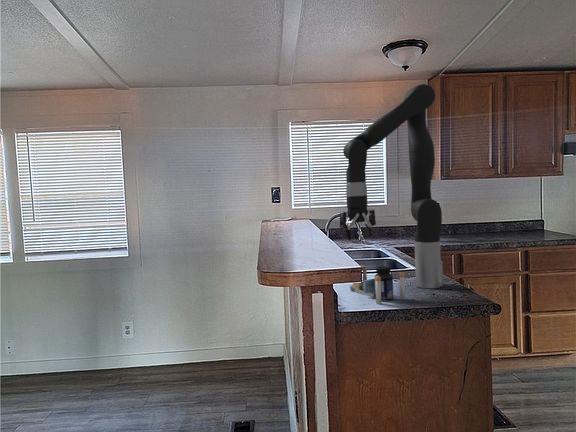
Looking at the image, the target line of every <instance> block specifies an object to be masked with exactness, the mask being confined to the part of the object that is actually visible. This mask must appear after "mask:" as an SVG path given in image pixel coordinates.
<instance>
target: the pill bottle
mask: <svg viewBox="0 0 576 432" xmlns="http://www.w3.org/2000/svg"><path fill="white" fill-rule="evenodd" d="M375 270H376V274H375V275H374V278H375V277H376V276H380V277H381V280H380V283H381V302H390V301H393V300H394V298H395V297H394V296H395V295H394V278H393V275H392V274H391V267H390V266H377V267H376V269H375ZM375 296H376V281H375Z"/></svg>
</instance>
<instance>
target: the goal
mask: <svg viewBox="0 0 576 432" xmlns="http://www.w3.org/2000/svg"><path fill="white" fill-rule="evenodd" d="M405 276H406V274H405V272H404V271H401V272H399V274H398V277H399V294H400V295H399V299H400V300H401V301H404V300H406V285H405V284H406V282H405ZM374 279H375V281H376V297H375V300H376V301H375V303H376V305H382V301H381V283H380V280H381V277H380V276H376V277H375V276H374Z"/></svg>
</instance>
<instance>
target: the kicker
mask: <svg viewBox="0 0 576 432" xmlns="http://www.w3.org/2000/svg"><path fill="white" fill-rule="evenodd" d="M360 266H361V267H362V270H363V282H361V283H353V284H352V285H351V286H352V288H355V289H363V291H364V293H371V292H375V278H372V279H368V276H367V275H368V273H367V272H368V271H367V266H366V265H362V264H360Z"/></svg>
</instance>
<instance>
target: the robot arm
mask: <svg viewBox="0 0 576 432" xmlns="http://www.w3.org/2000/svg"><path fill="white" fill-rule="evenodd" d="M435 99H436V91H435V89H434V88H433V87H432V86H431V85H430V84H428V83H427V84H425V83H422V84H418V85H416V86H413V87H412V88H410V89H409V90H407V92H406V93H405V95H404V98H403V101H402V102H401V103H400V104H398V105H397V106H396V107H394V108H393V109H391V110H390V111H389V112H387V113H385V114H383V116H381V117H380V118H378V119H377V120H375V121H374V122H373V123H372V124H370V125H369V126H367V128H365V129H364V131H362V132H361V133H360V134H358V135H356V136H354V138H352V139H350V141H348V142H347V143H346V144H345V145H344V146H343V150H342V151H343V155H344V157H345V158H346V159H347V161H348V162H347V163H348V166H347V168H346V176H345V177H346V178H345V179H346V187H345V190H346V191H345V192H346V193H345V194H346V195H345V196H346V207H347V211H340V212H339V227H340V229H343V230H344V236H345V239H346V240H347V241H351V240H352V230H351V228H352V226H354V224H356V223H362V224H363V225H364V226H365V229H364V230H365V238H368V239H370V238H371V237H372V228H373V227H374V226H376V223H377V222H376V212H375V209H368V187H367V178H366V177H367V176H366V166H367V160H368V159H367V158H368V151H369V150H370V149H371V148H373V147H375V146H376V145H378V144H379V143H382V141H383V140H384V139H386V138H387V137H388V136H389V135H390V134H392V133H394V131H395V130H397V129H398V128H399V127H400V126H402V125H403V124H404V123H405V122H406V123H407V139H408V160H409V162H408V163H409V170H410V171H409V172H410V174H409V175H410V181H411V182H410V183H411V201H410V214H411V216H412V218H413V219H414V220H415V221H416V232H415V233H414V237H413V238H414V242H413V243H414V268H415V272H414V273H415V287H417V288H419V289H437V288H441V287H443V286H444V269H443V264H444V263H443V260H441V235H442V230H443V229H442V226H443V223H442V221H443V217H442V216H443V215H442V212H443V211H442V208H441V205H440V203H439V202H438V201H436V200H435V199H433V198H432V190H431V187H432V186H431V185H432V184H431V183H432V178H433V174H434V170H435V164H436V163H435V162H436V159H435V157H436V155H435V144H434V141H433V139H432V136H431V134H430V132H429V130H428V127H427V120H426V118H427V117H426V115H427V114H426V112H427V111H426V110H427V109H429V108H430V107H431V106H432V105H433V104H434V102H435ZM367 216H368V217H367ZM347 217H348V218H347Z"/></svg>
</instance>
